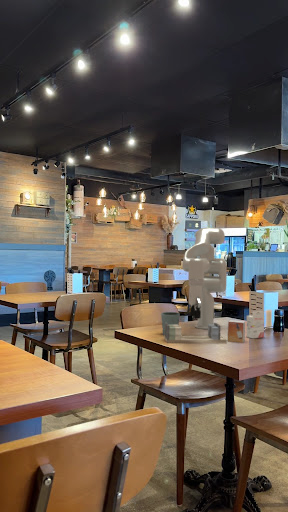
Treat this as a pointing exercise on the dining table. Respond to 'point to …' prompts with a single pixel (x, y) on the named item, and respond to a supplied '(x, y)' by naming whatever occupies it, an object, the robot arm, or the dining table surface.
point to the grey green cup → (169, 319)
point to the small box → (236, 331)
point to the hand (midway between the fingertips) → (195, 316)
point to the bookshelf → (175, 336)
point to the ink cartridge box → (255, 325)
